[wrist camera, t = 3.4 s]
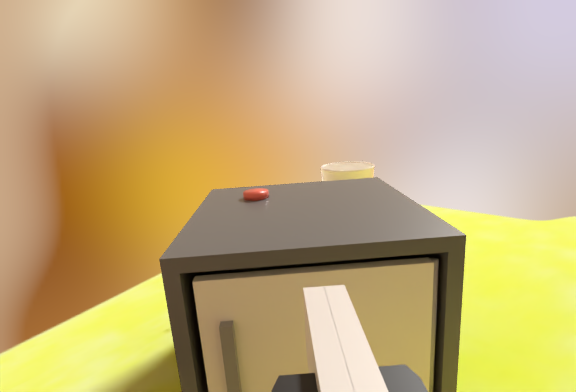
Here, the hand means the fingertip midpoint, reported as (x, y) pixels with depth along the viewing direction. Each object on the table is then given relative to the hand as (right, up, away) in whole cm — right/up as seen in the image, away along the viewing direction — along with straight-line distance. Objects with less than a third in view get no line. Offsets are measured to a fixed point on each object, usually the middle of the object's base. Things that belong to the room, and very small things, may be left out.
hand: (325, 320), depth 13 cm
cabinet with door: (+1, -11, +20) cm, 23 cm away
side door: (+1, -11, +11) cm, 16 cm away
